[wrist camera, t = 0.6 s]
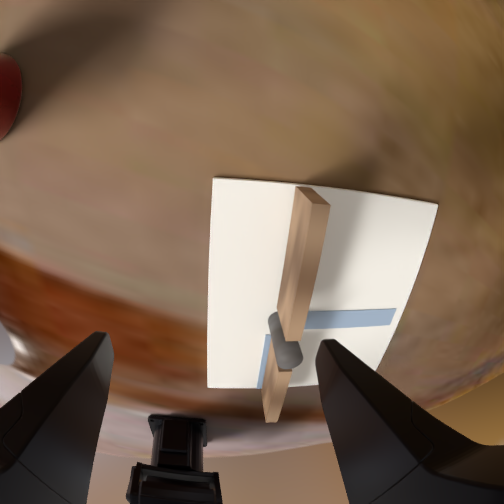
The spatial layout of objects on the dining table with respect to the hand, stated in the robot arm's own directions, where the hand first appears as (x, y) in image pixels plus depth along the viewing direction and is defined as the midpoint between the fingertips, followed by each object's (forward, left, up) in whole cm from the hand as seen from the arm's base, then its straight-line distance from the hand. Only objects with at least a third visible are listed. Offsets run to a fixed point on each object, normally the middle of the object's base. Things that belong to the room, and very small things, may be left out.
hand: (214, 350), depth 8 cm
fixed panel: (-12, -5, -12) cm, 18 cm away
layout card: (-7, -8, -12) cm, 16 cm away
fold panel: (-2, -5, -11) cm, 12 cm away
